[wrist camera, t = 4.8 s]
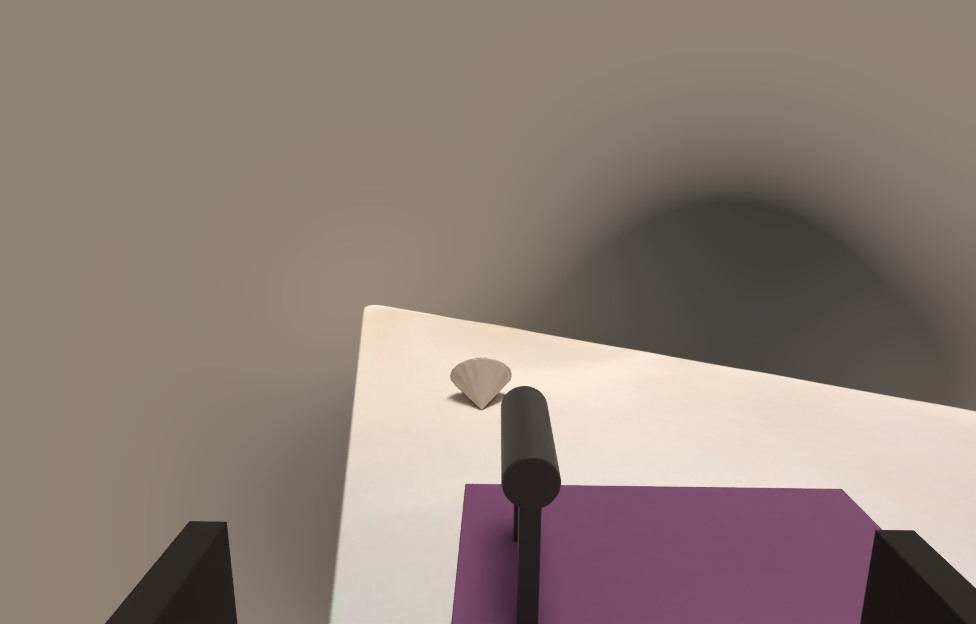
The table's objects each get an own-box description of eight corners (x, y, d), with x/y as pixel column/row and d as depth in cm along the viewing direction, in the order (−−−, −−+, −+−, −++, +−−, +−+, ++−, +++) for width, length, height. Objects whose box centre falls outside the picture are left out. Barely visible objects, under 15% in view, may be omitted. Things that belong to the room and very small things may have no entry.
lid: (440, 760, 18) (436, 527, 16) (465, 498, 31) (464, 354, 29) (1093, 773, 18) (1162, 537, 16) (839, 503, 31) (861, 358, 29)
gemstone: (456, 391, 61) (456, 346, 64) (444, 422, 66) (445, 378, 69) (521, 397, 62) (518, 352, 65) (505, 426, 67) (502, 383, 70)
